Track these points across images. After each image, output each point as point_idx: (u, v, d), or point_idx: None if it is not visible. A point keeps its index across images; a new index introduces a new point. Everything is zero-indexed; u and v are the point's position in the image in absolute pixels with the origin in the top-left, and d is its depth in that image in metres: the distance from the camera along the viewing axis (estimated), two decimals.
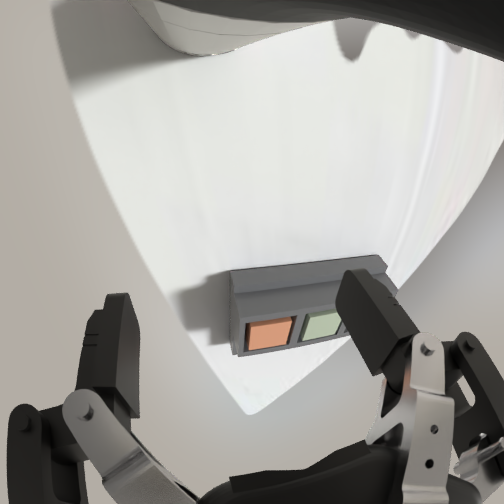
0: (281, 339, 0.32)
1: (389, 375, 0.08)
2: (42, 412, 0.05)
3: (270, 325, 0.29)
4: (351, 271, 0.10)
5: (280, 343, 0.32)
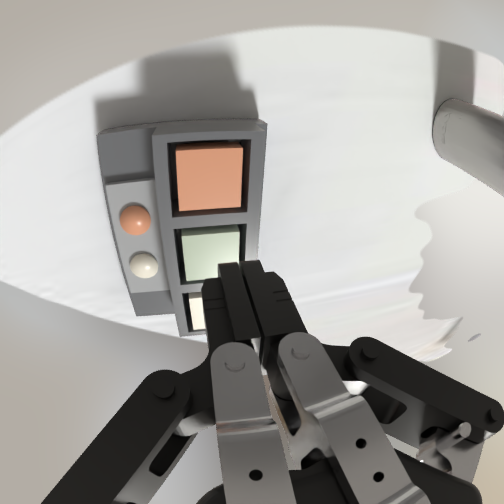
0: (194, 201, 0.20)
1: (269, 375, 0.08)
2: (189, 386, 0.06)
3: (239, 176, 0.20)
4: (241, 262, 0.10)
5: (184, 201, 0.20)
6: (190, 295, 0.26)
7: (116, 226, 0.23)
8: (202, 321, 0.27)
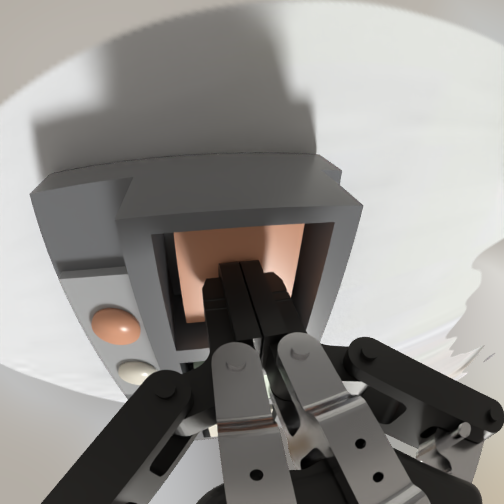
0: None
1: (269, 376, 0.08)
2: (190, 386, 0.06)
3: (292, 269, 0.11)
4: (241, 263, 0.10)
5: (195, 310, 0.11)
6: None
7: (88, 331, 0.13)
8: None
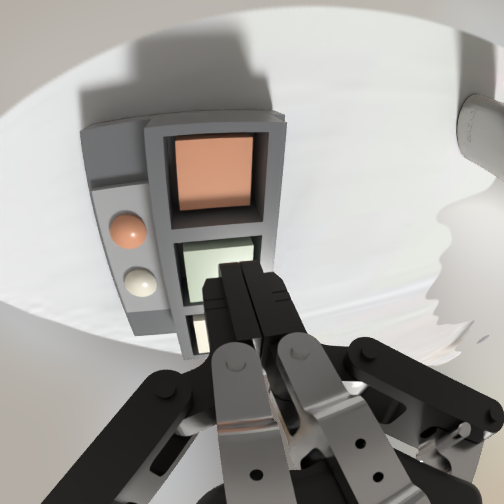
0: (197, 199, 0.17)
1: (269, 376, 0.08)
2: (190, 386, 0.06)
3: (248, 170, 0.17)
4: (240, 263, 0.10)
5: (186, 199, 0.17)
6: (195, 317, 0.22)
7: (106, 238, 0.19)
8: None
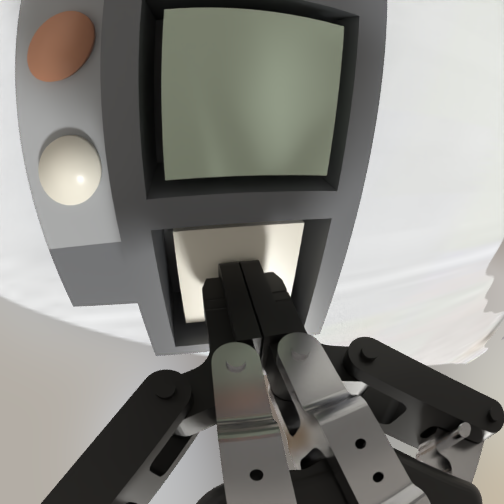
0: None
1: (268, 376, 0.08)
2: (190, 386, 0.06)
3: None
4: (240, 263, 0.10)
5: None
6: None
7: (20, 71, 0.06)
8: None
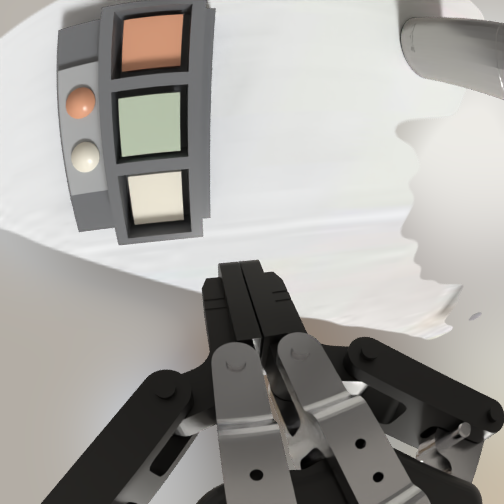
0: (136, 61, 0.16)
1: (269, 376, 0.08)
2: (190, 386, 0.06)
3: (179, 37, 0.16)
4: (240, 263, 0.10)
5: (127, 61, 0.16)
6: (130, 175, 0.21)
7: (62, 112, 0.17)
8: (143, 212, 0.23)
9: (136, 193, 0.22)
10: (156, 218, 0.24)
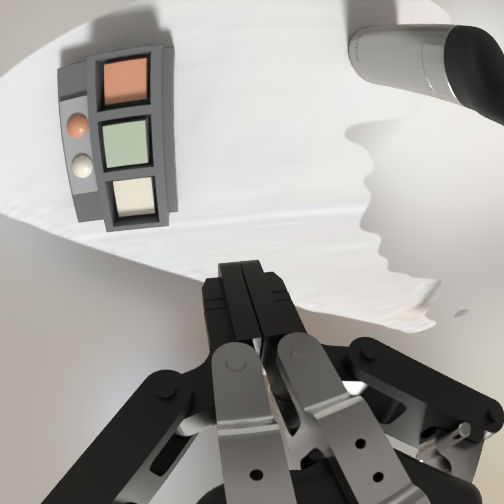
0: (115, 96, 0.23)
1: (269, 376, 0.08)
2: (190, 386, 0.06)
3: (144, 77, 0.23)
4: (241, 263, 0.10)
5: (108, 97, 0.23)
6: (115, 180, 0.29)
7: (64, 133, 0.24)
8: (125, 207, 0.30)
9: (119, 193, 0.29)
10: (134, 212, 0.31)
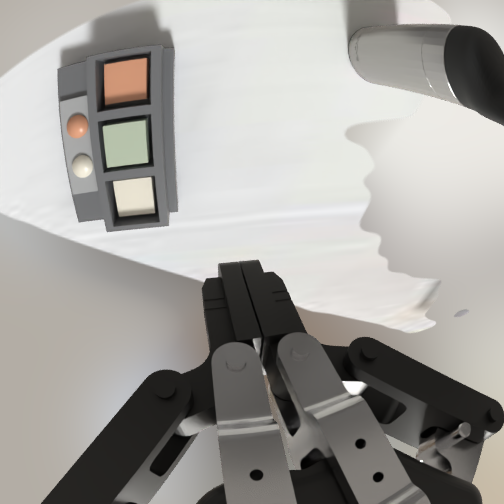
0: (115, 96, 0.23)
1: (268, 376, 0.08)
2: (190, 386, 0.06)
3: (144, 77, 0.23)
4: (241, 262, 0.10)
5: (108, 97, 0.23)
6: (115, 180, 0.29)
7: (64, 133, 0.24)
8: (125, 207, 0.30)
9: (119, 193, 0.29)
10: (134, 212, 0.31)
